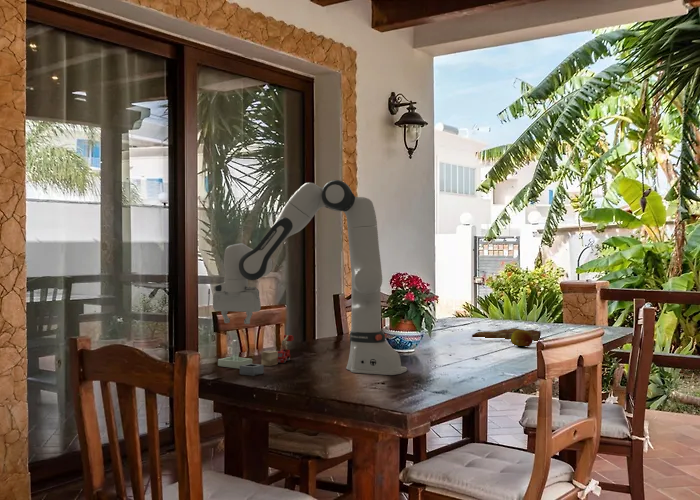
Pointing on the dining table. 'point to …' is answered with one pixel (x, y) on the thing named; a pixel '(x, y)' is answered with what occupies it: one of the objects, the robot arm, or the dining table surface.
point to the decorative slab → (506, 334)
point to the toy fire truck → (285, 349)
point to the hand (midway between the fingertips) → (237, 323)
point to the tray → (233, 362)
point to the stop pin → (235, 350)
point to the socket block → (251, 369)
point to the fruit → (521, 338)
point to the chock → (269, 358)
